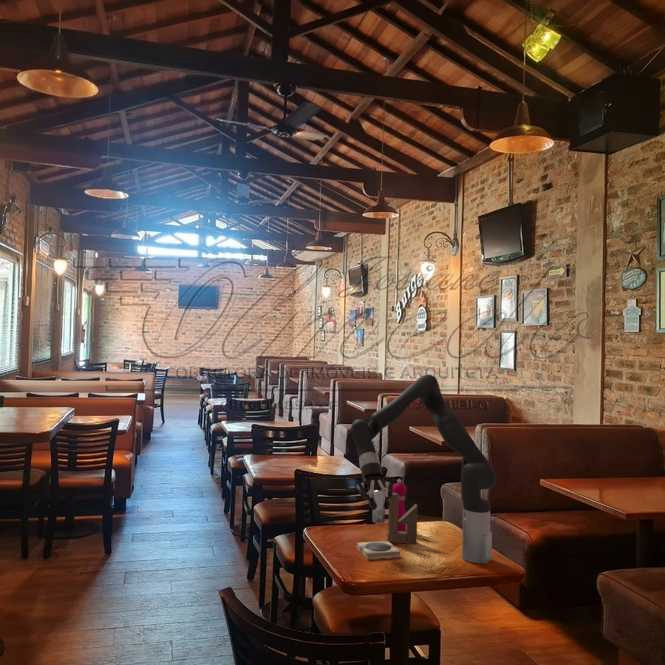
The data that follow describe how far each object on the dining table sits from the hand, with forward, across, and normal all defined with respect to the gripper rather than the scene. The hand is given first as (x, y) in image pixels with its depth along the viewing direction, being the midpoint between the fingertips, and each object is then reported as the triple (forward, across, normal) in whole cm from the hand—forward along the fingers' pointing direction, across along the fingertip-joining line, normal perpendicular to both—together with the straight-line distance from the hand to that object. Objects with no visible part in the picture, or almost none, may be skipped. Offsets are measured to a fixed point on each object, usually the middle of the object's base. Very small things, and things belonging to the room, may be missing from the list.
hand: (380, 508), depth 209 cm
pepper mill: (-7, -18, -31) cm, 36 cm away
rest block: (+10, 0, -12) cm, 16 cm away
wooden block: (+4, -13, -19) cm, 23 cm away
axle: (+2, 0, -5) cm, 6 cm away
